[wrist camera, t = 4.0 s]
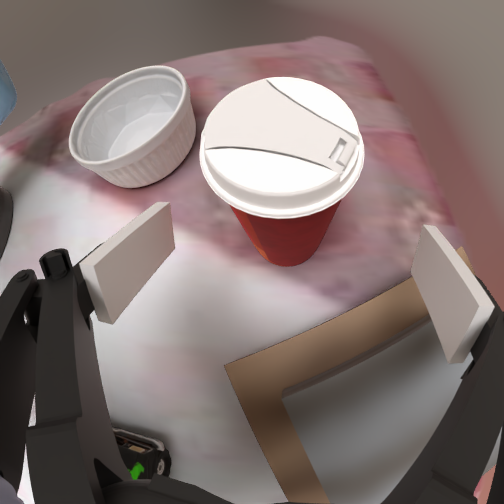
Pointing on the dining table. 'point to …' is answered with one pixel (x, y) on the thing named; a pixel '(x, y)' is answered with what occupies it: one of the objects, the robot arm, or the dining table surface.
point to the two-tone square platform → (351, 399)
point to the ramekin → (135, 127)
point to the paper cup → (282, 162)
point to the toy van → (142, 454)
